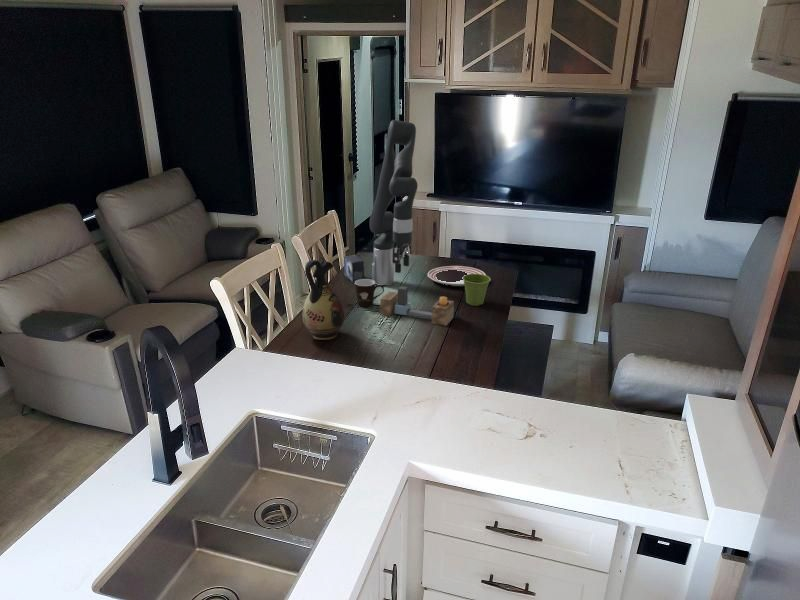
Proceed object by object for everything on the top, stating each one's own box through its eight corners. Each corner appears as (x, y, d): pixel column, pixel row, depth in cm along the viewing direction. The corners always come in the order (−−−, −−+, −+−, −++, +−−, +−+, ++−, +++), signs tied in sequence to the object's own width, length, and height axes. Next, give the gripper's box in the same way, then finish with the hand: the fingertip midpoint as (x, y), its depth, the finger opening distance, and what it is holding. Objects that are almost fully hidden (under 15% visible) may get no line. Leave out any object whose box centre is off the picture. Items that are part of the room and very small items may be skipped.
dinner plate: (417, 275, 285) (417, 268, 284) (466, 268, 296) (466, 261, 294) (445, 294, 262) (445, 287, 260) (496, 285, 272) (497, 278, 271)
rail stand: (380, 314, 239) (380, 298, 236) (389, 307, 247) (389, 291, 244) (446, 325, 229) (447, 309, 226) (453, 317, 237) (453, 301, 234)
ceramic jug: (324, 323, 231) (321, 250, 220) (353, 334, 222) (351, 258, 211) (291, 337, 219) (286, 260, 208) (320, 349, 210) (316, 269, 198)
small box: (343, 277, 282) (342, 256, 278) (355, 275, 284) (355, 254, 281) (352, 283, 273) (351, 262, 269) (365, 281, 276) (364, 260, 272)
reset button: (438, 306, 231) (438, 298, 230) (440, 304, 234) (441, 296, 232) (445, 308, 230) (445, 299, 229) (447, 305, 233) (448, 297, 231)
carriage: (394, 313, 238) (394, 289, 235) (399, 308, 243) (399, 285, 239) (406, 315, 237) (406, 290, 233) (410, 310, 241) (410, 286, 237)
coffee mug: (351, 306, 247) (350, 283, 244) (361, 299, 254) (361, 277, 251) (375, 311, 242) (374, 288, 239) (385, 304, 249) (385, 282, 246)
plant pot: (467, 309, 245) (468, 284, 240) (457, 299, 255) (458, 274, 251) (493, 306, 248) (495, 281, 243) (482, 296, 258) (484, 272, 254)
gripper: (400, 224, 234) (400, 262, 240) (386, 232, 222) (386, 273, 228) (418, 226, 232) (417, 265, 238) (404, 235, 219) (404, 276, 225)
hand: (402, 269), depth 233 cm, fingers open, 8 cm apart
